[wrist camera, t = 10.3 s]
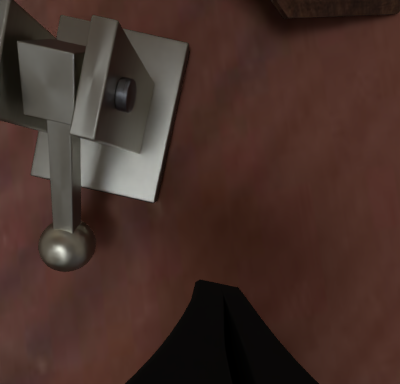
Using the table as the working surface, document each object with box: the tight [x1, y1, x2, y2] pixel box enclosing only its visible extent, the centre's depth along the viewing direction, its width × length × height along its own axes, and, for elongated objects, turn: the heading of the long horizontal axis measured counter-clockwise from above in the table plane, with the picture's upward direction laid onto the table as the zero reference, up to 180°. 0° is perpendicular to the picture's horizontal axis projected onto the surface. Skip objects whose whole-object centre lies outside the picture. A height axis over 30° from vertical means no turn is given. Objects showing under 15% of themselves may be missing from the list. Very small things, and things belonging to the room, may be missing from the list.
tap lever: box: [17, 39, 96, 272], centre depth 15 cm, size 12×3×3 cm, turn 167°
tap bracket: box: [0, 0, 190, 203], centre depth 15 cm, size 10×8×9 cm
